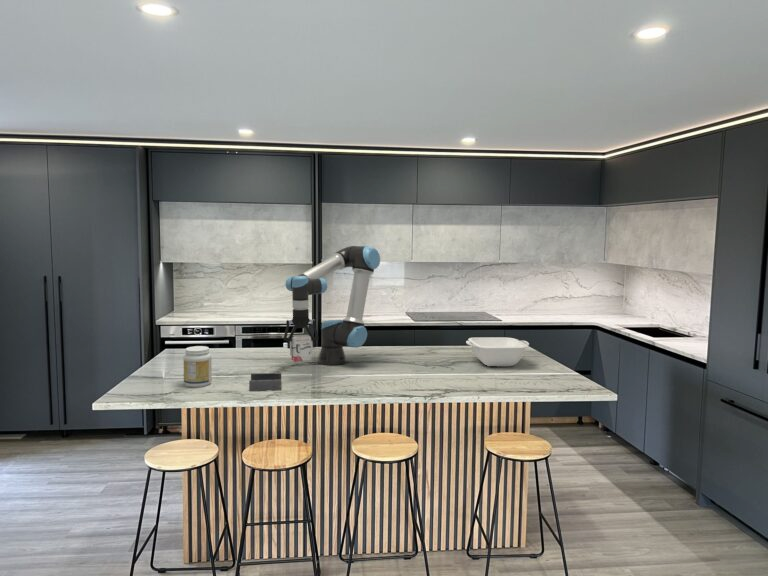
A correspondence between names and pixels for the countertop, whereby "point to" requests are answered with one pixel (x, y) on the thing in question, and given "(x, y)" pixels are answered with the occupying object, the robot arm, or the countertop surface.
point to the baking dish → (498, 350)
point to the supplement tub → (197, 366)
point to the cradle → (265, 381)
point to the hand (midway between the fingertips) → (301, 354)
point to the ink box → (301, 347)
